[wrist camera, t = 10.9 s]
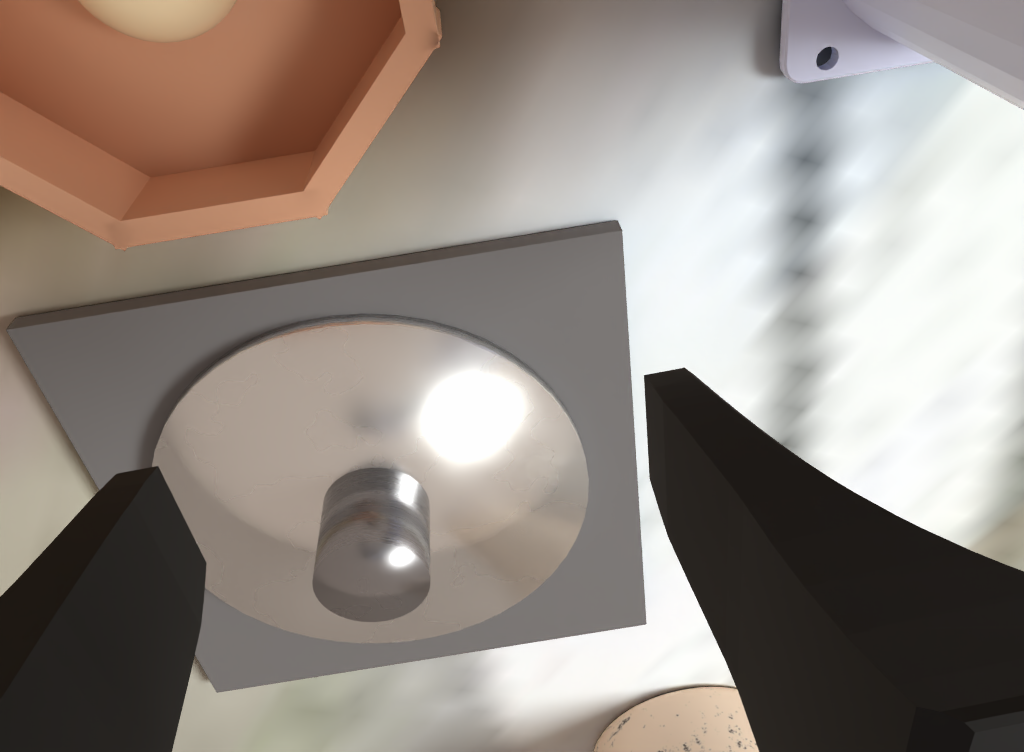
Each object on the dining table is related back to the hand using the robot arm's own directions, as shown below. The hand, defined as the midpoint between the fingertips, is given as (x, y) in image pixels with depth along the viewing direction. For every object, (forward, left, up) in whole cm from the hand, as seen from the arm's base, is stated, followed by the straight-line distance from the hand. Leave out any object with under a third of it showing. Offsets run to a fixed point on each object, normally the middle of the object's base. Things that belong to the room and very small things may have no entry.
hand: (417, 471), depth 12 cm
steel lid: (+3, +9, -10) cm, 14 cm away
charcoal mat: (+3, +10, -10) cm, 14 cm away
